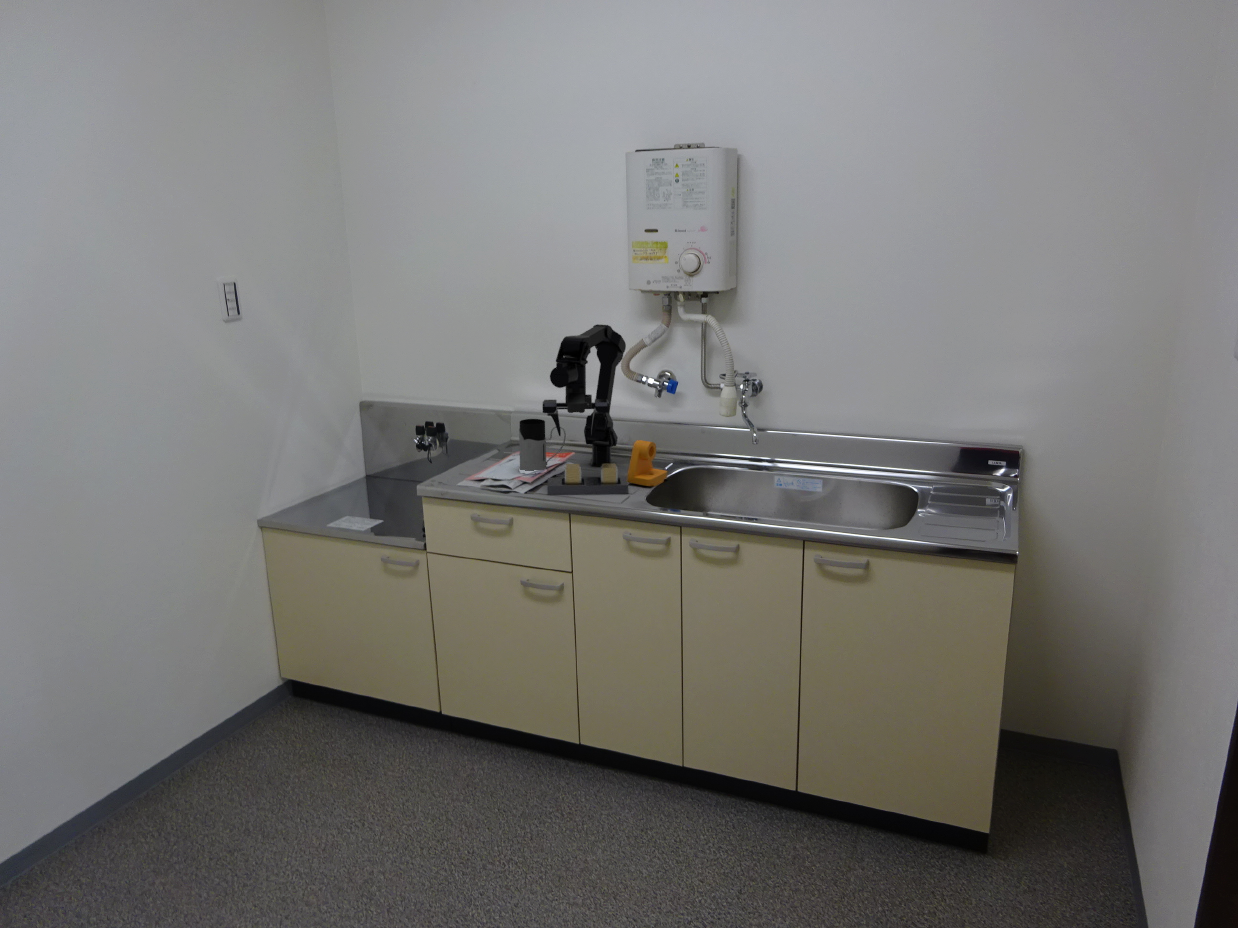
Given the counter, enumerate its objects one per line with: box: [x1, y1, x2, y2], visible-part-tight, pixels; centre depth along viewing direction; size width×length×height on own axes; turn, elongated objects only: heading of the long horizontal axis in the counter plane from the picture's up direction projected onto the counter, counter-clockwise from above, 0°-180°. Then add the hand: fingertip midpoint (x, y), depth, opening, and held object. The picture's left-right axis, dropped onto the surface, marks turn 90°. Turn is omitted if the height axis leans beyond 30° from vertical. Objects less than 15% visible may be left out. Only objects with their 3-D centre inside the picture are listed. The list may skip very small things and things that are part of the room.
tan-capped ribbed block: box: [600, 463, 619, 485], centre depth 242 cm, size 4×4×7 cm
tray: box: [546, 476, 629, 496], centre depth 242 cm, size 8×22×2 cm, turn 93°
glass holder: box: [518, 418, 566, 471], centre depth 259 cm, size 9×14×15 cm, turn 87°
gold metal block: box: [564, 463, 582, 485], centre depth 241 cm, size 4×4×7 cm
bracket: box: [626, 439, 668, 487], centre depth 249 cm, size 11×7×12 cm, turn 148°
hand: (576, 435), depth 249 cm, fingers open, 9 cm apart
